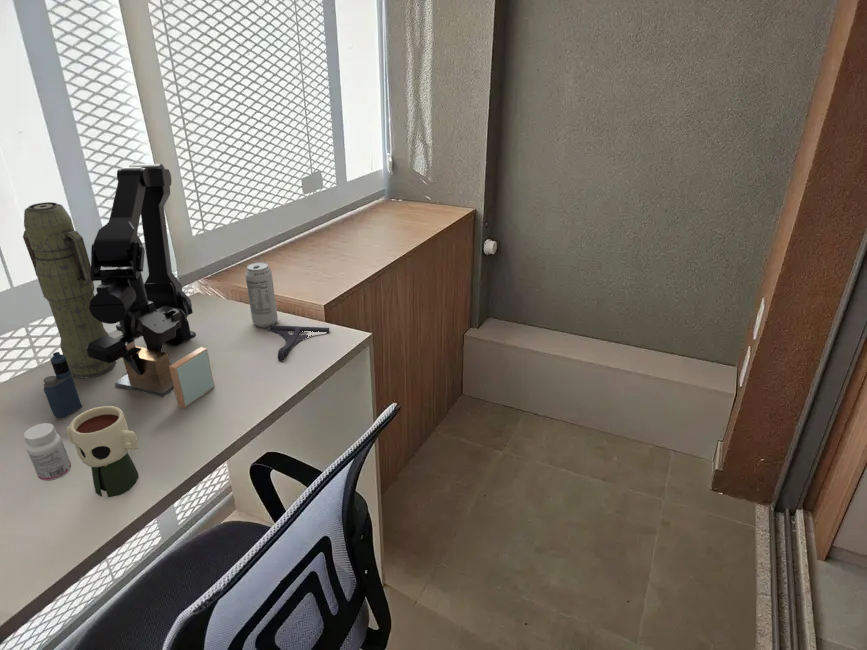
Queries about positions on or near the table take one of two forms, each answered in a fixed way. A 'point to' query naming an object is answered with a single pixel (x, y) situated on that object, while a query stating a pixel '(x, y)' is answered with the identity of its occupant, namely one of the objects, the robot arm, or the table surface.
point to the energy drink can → (261, 294)
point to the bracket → (292, 336)
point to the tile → (192, 377)
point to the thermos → (65, 283)
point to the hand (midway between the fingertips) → (148, 369)
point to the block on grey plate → (149, 374)
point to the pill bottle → (47, 452)
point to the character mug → (105, 448)
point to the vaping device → (61, 389)
